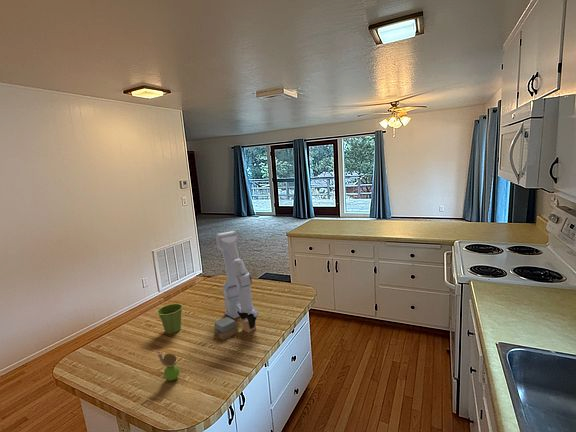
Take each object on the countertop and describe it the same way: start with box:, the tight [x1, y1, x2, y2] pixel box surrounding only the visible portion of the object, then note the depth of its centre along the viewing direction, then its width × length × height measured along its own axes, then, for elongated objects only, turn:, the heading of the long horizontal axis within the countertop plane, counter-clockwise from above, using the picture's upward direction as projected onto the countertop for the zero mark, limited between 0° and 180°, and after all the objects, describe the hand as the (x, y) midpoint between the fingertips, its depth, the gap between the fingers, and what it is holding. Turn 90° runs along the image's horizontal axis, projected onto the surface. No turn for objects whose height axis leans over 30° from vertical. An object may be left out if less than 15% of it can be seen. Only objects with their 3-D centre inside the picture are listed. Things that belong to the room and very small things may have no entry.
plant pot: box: [156, 303, 184, 335], centre depth 149 cm, size 12×12×11 cm
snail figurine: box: [157, 350, 180, 382], centre depth 113 cm, size 5×6×12 cm
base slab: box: [213, 325, 239, 341], centre depth 142 cm, size 8×8×3 cm
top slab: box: [213, 316, 237, 333], centre depth 142 cm, size 7×7×3 cm
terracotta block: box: [241, 318, 257, 333], centre depth 144 cm, size 4×4×5 cm
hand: (249, 326), depth 144 cm, fingers open, 5 cm apart
